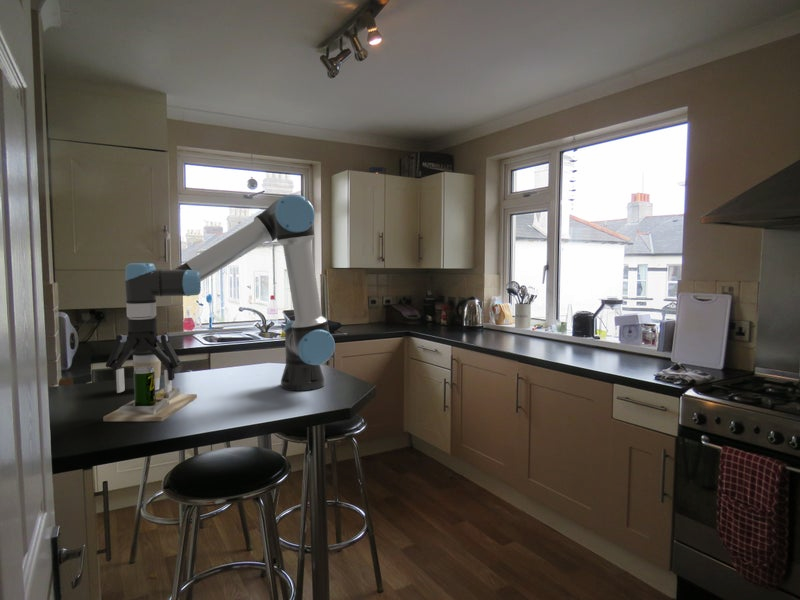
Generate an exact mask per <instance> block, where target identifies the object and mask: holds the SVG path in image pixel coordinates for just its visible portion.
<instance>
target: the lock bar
mask: <svg viewBox="0 0 800 600" xmlns="http://www.w3.org/2000/svg"><path fill="white" fill-rule="evenodd" d="M163 388H164V389H163ZM163 388H162V389H163V390H162V391H160V392H158V393H156V401H157V399H158V398H166V397H165V394H167V393H165V385H164V387H163ZM174 389H176V386H172V390H174ZM168 393H169V392H168Z"/></svg>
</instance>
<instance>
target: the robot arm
mask: <svg viewBox="0 0 800 600" xmlns="http://www.w3.org/2000/svg"><path fill="white" fill-rule="evenodd" d="M315 217H316V213H315V209H314V206H313V204H312V203H311V201H309V199H307V198H306V197H305V196H303V195H300V194H287V195H283V196H281V197H280V198H279V199H277V200H275V201H274V202H273V203H272V204H270V206H269V205H268V207H267V208H266V209H265V210H263V211H262V212H260V213H259V214H257V215H256V216H254V218H253V220H252V222H250V223H248V224H247V225H245V226H244V227H242V228H240V229H238V230H237V231H236V232H233V233H232V234H230V235H229V236H226V237H225V238H223V239H222V240H220V241H218V242H217V243H215V244H214V245H212V246H210V247H208V248H207V249H205V250H203V251H202V252H200V253H198V254H197V255H196V256H193V257H192V258H191V259H188V260H187V261H185V262H184V263H183V264H180V265H178V267H175V268H173V269H167V270H166V269H165V270H161V269H160V270H159V269H157V268H156V266H155V264H154V263H153V262H152V263H151V262H150V263H148V262H146V263H142V262H141V263H140V262H139V263H135V262H134V263H127V265H126V266H125V273H124V276H125V277H124V278H125V279H124V282H125V300H126V304H125V305H126V318H128V319H127V320H126V330H127V335H126V334H124V333H121V334H118V335H116V336H115V344H114V346H113V348H112V350H111V352H110V354H109V357H108V359H107V360H106V364H105V367H106V368H110V369H112V373H113V374H112V376H113V377H112V378H113V380H114V381H116V393H117V394H118V393H119V394H120V393H122V392H124V391H126V390H125V388H126V387H125V368H124V367H122V366H123V365H124V363H126V361H127V360H128V359H129V358H130V357H131V356H132V353H133V351H135V350H136V351H140V350H143V351H148V350H150V351H151V352H152V353H154V355H155V356H156V357H157V358H158V359H159V360H160V361H161V364H162V365H163V366H164V367H165V369H164V370H163V371H164V372H163V373H164V386H165V393H168V392H170V391H172V387H173V383H172V381H174V380H175V368H176V369H177V367H180V366H181V365H182V362H181V360H180V358H179V357H178V355H177V353H176V351H175V349H174V348H173V346H172V344H171V341H170V337H169V334H168V333H166V334H162V335H158V320H157V317H156V316H157V297H190V296H191V297H192V296H199V295H200V293H201V291H202V287H201V285H202V283H201V282H203V281H204V280H206V279H207V278H209V277H211V276H212V275H214V274H216V273H217V272H219V271H221V270H222V269H224V268H225V267H227V266H228V265H230V264H232V263H234V262H235V261H237V260H238V259H240V258H242V257H244V256H245V255H246V254H249V253H250V252H252V251H253V250H255V249H257V248H259V246H261V245H263V244H264V243H267V242H268V243H269V242H270V243H272V242H273V241H275V240H276V241H277V242H278V243H279V244H280V245H281V246H282V249H283V253H284V254H283V255H284V260H285V265H286V270H287V271H286V272H287V278H288V279H287V280H288V285H289V289H290V290H289V291H290V295H291V303H292V307H293V314H294V321H287V322H286V323H285V325H284V335H285V337H284V340H285V341H284V342H285V343H284V346H285V366H284V369H283V373H282V376H281V379H280V387H281V389H284V390H286V389H287V391H295V390H297V391H299V392H300V391H303V392H304V391H312V390H311V389H313V390H318V389H320V387H321V388H322V386H323V387H325V385H324V384H325V383H326V382H325V381H326V380H325V376H324V373H323V370H322V367H321V365H323V364H325V363H326V362H328V361H329V360H331V358H332V357H333V355H334V353H335V349H336V343H335V339H334V337H333V335H332V334H331V333H330V328H329V323H328V319H327V318H326V317H325V316H323V314H322V308H321V301H320V295H319V294H320V293H319V290H318V284H317V283H318V282H317V277H316V269H315V263H314V256H313V251H312V245H311V242H312V240H314V239H313V238H315V233H314V227H313V224H314V222H315ZM158 341H159V343H161V346H162V348H163V349H164V351H165V352H164V351H163V350H162V348H161V347H160V345H158V343H157V342H158ZM126 342H128V344H129V345H128V346H127V347H126V348H125V351H123V353H122V354H121V355H120V353H121V351H122V349H123V347H124V345H125V343H126ZM119 356H120V357H119ZM317 388H318V389H317ZM297 391H296V392H297Z"/></svg>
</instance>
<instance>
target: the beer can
mask: <svg viewBox="0 0 800 600" xmlns="http://www.w3.org/2000/svg"><path fill="white" fill-rule="evenodd" d="M153 368H154V367H149V366H147V367H138V368H135V369H134V368H133V393H134V396H133V397H134V400H135V406H153V405H154V404H156V397H155V392H156V390H155V371H154V369H153ZM134 370H135V371H134Z"/></svg>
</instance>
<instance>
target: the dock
mask: <svg viewBox="0 0 800 600" xmlns="http://www.w3.org/2000/svg"><path fill="white" fill-rule="evenodd" d="M163 389H164V387H163V388H161V389H158V390H156V391H155V397H156V393H158V392H160V391H162V390H163ZM165 397H166V398H158V399H157V401H156V404H154V405H153V406H135V399H133V400H132V401H131V400H130V401H129V402H127V403H125V404H123V405H122V406H120V407H119V408H118V409H116V410H114V411H112V412H110V413H108V414H106V415H104V416H103V419H102V421H103V422H164V420H166V419H168V418H169V417H171V416H173V415H174V414H175V413H176V412H178V411H180V410H181V409H183V408H184V407H186V406H187V405H188V404H190V403H191V402H193V401H195V400H196V399H197V398H198V395H197V393H196V394H195V393H194V394H193V393H181V392H180V387H179V388H178V387H175V389H174V390H172V391H170V392H169V393H167V394H165Z"/></svg>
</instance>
